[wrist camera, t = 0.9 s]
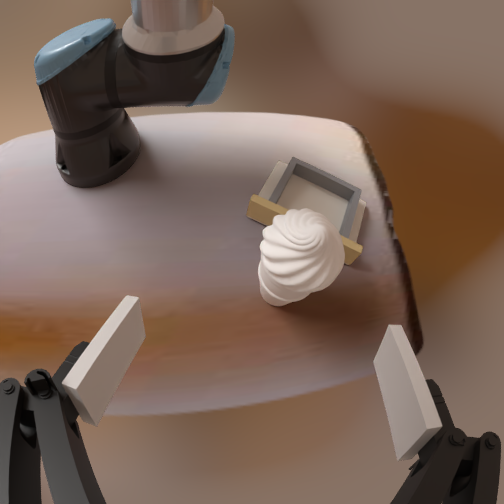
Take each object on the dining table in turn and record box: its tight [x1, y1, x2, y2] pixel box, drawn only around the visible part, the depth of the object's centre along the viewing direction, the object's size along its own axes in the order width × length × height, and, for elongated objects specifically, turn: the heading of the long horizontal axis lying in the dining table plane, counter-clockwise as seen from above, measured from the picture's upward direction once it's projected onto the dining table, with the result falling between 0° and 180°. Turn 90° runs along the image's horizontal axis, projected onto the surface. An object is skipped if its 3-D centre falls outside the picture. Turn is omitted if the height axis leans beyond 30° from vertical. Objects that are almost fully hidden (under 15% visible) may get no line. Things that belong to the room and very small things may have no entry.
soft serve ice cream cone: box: [258, 208, 345, 306], centre depth 30 cm, size 8×8×16 cm
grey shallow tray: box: [246, 157, 366, 265], centre depth 42 cm, size 13×16×4 cm
